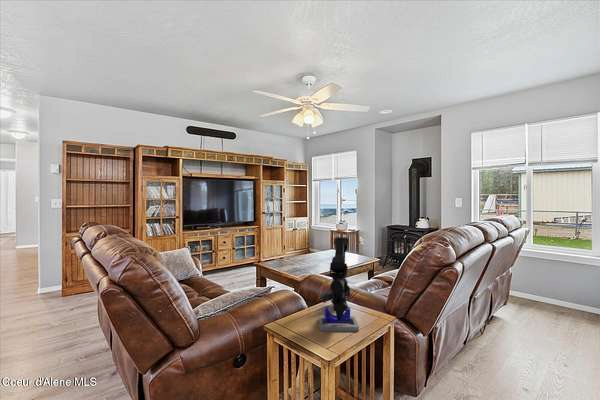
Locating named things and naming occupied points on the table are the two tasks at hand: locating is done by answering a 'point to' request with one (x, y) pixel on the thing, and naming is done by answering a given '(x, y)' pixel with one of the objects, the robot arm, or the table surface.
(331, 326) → the gray rectangular open frame
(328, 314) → the blue curved bracket
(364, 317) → the table surface
